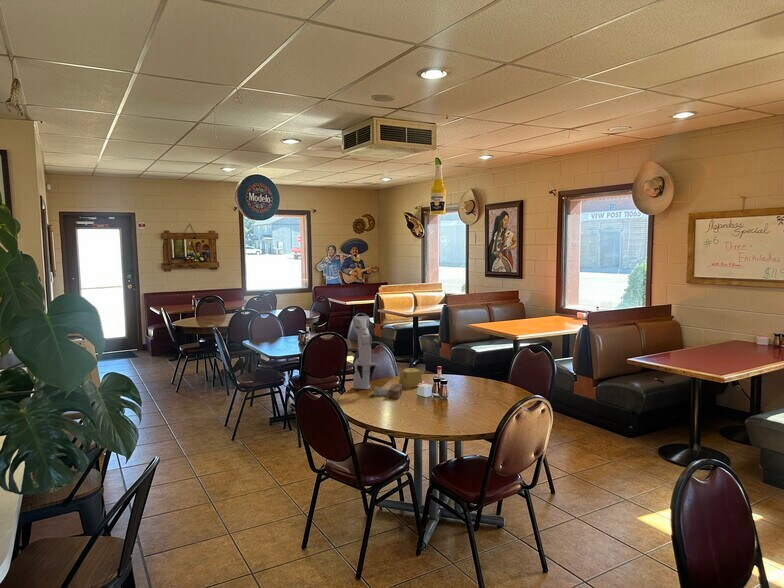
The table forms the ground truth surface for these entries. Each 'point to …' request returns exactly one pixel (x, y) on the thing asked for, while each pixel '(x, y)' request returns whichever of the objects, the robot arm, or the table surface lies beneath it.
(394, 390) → the walnut tunnel block
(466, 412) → the table surface
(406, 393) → the table surface
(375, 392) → the steel key pin
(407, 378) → the cheese
